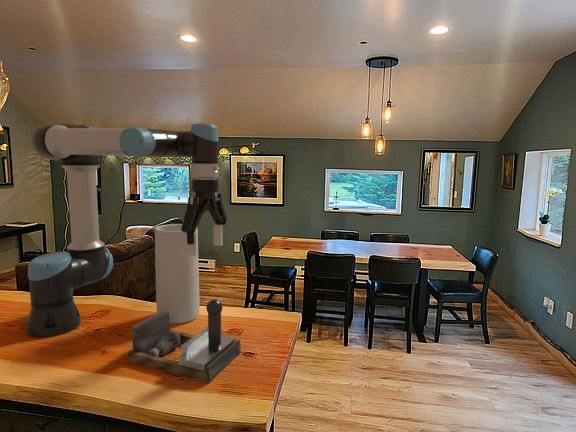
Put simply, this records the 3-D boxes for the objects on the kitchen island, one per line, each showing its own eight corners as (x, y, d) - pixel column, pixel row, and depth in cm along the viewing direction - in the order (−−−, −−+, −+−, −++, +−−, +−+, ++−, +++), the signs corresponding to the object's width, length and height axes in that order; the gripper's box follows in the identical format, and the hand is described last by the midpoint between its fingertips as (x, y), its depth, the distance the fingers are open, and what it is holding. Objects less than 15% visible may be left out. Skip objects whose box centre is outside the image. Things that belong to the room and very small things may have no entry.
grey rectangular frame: (127, 361, 107) (126, 330, 106) (166, 336, 122) (165, 308, 120) (209, 383, 98) (209, 349, 96) (240, 353, 112) (240, 323, 111)
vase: (181, 305, 147) (179, 222, 142) (208, 315, 138) (207, 227, 133) (148, 317, 135) (144, 227, 130) (175, 329, 127) (172, 233, 122)
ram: (177, 372, 101) (175, 306, 98) (211, 345, 116) (210, 287, 113) (204, 380, 98) (204, 312, 95) (236, 351, 113) (236, 291, 110)
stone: (153, 366, 107) (175, 346, 107) (141, 350, 107) (163, 330, 108) (166, 357, 116) (186, 339, 117) (154, 342, 117) (175, 324, 117)
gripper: (190, 181, 101) (191, 261, 104) (237, 177, 124) (237, 242, 127) (166, 180, 103) (168, 258, 107) (216, 176, 126) (217, 240, 130)
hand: (206, 250), depth 117 cm, fingers open, 13 cm apart
